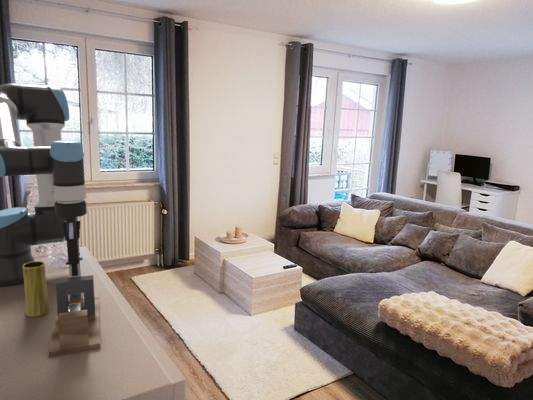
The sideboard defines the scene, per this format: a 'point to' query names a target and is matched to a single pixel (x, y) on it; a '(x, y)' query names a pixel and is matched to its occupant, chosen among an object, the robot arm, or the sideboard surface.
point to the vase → (35, 289)
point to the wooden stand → (75, 331)
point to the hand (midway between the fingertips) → (75, 285)
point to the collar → (74, 287)
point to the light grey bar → (75, 302)
